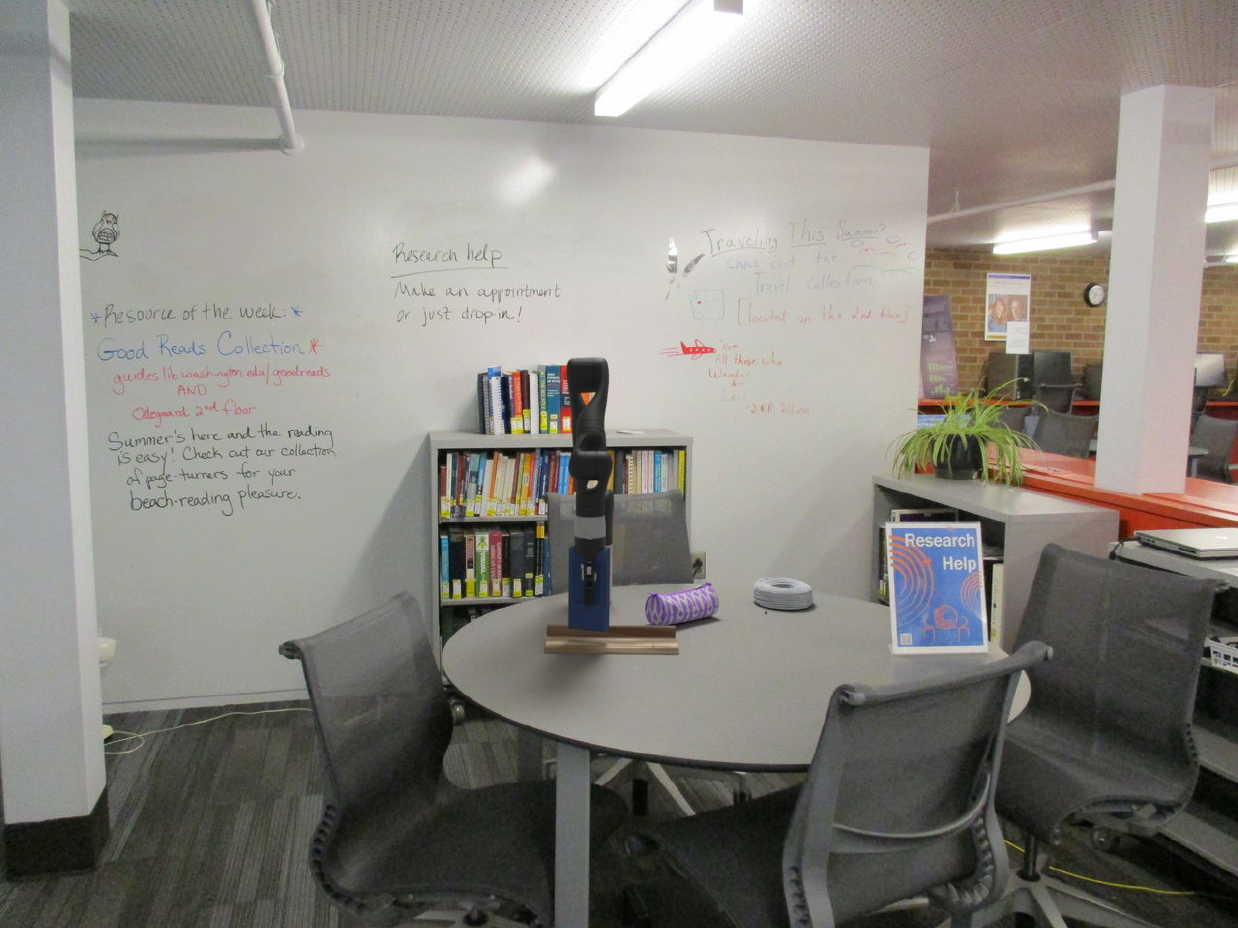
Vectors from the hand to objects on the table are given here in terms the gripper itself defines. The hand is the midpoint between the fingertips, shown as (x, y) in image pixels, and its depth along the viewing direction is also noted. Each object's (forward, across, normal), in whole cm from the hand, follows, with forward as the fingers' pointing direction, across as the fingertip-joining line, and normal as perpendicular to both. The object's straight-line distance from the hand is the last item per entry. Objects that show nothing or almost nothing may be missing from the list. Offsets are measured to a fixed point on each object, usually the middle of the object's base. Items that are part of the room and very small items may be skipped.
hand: (589, 601), depth 212 cm
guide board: (+11, 0, +6) cm, 13 cm away
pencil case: (+12, -23, +25) cm, 36 cm away
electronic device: (+7, 0, 0) cm, 7 cm away
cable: (+12, -43, +56) cm, 72 cm away
